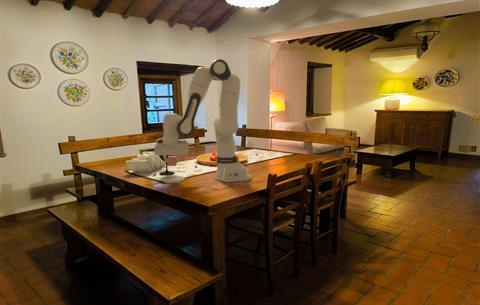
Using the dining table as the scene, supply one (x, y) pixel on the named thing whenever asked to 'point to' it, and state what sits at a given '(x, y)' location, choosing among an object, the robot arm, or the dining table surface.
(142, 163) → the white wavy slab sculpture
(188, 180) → the dining table surface
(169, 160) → the orange cube
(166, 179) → the tile
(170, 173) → the wine glass
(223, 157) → the robot arm
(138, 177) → the dining table surface
